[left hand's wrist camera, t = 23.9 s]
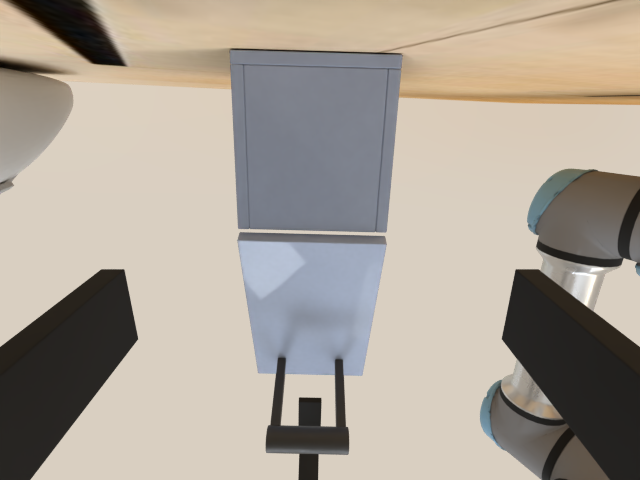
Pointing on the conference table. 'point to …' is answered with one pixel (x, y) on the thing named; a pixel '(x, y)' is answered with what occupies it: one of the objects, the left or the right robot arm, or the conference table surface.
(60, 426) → the left robot arm
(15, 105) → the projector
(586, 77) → the conference table surface
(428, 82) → the conference table surface
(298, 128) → the chest
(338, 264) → the lid
